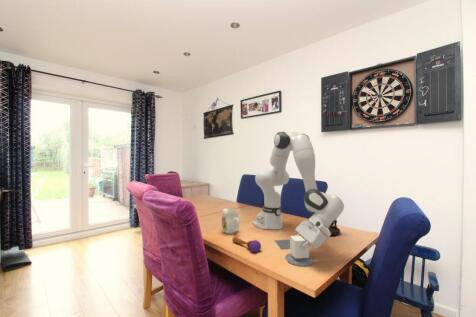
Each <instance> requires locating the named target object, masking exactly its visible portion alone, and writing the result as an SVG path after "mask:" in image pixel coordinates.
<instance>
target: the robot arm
mask: <svg viewBox="0 0 476 317" xmlns="http://www.w3.org/2000/svg"><path fill="white" fill-rule="evenodd" d="M273 144H274V146H273V149H272V150H271V151H272V152H271V153H270V154H271V156H270V157H269V158H270V159H269V163H270V165H271V167H273V168H272V169H270V170H261V171H258V172H257V173H256V174H255V178H254V181H255V184H256V185H257V187H258V186H259V187H260V189H261V190H262V193H263V199H264V200H263V201H264V202H263V203H264V205H262V206H261V209H262V211H260V212H258V213H257V214H256V217H255V220H253V221H252V225H255V226H256V227H258V228H260V229H262V230H280V229H282V228H284V226H283V219H282V206H281V204H282V203H281V201H282V200H281V194H280V193H279V192H277V191H276V190H275V187H280V186H284V185H287V184H288V183H289V180H290V175H289V173H288V171H287V169H286V166H287V162H288V160H289V156H290V153H291V151H292V156H293V159H294V163H295V165H296V167H297V169H298V171H299V174H300V175H301V178H302V181H303V185H304V189H305V193H304V195H303V201H304V208H305V210H306V211H307V212H308V213H310V214H312V215H311V216H310V217H309V219H306V220H305V219H304V220H303V221H302V222H300V224H298V226H296V228H295V230H294V231H295V232H296V233H297V234H296V236H302V237H304V238H305V239H306V240H307V241H306V243H305V244H304V245H301V246H300V248H301V249H302V250H303V251H304V250H305V249H306V248H308V247H309V248H310V247H311V246H312V247H314V248H315V249H318V248H320V247H321V246H322V245H323V244H324V242H325V241H327V238H329V237H331V235H332V234H331V233H330V231H329V229H328V228H329V227H330V225H331V223H332V222H333V221H335V220H336V219H338V218H339V217H340V216H341V214H342V212H343V211H344V209H345V204H344V202H343V200H342V199H341V198H340V197H338V196H337V195H335V194H330V193H325V192H322V191H320V190H319V189H318V186H317V182H316V155H315V154H316V153H315V150H314V147H313V144H312V141H311V139H310V137H309V135H307V134H304V133H300V132H295V131H294V132H292V131H277V133H276V134H275V136H274V139H273Z"/></svg>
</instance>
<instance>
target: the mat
mask: <svg viewBox="0 0 476 317" xmlns="http://www.w3.org/2000/svg"><path fill="white" fill-rule="evenodd" d="M274 242H275V243H276V245H277V246H278V247H279V249H280V250H290V239H277V240H276V239H274Z"/></svg>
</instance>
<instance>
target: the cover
mask: <svg viewBox="0 0 476 317" xmlns="http://www.w3.org/2000/svg"><path fill="white" fill-rule="evenodd" d="M289 240H290V249H289V254H290V253H291V254H292V255H293V256H294V258H309V256H310V247H308V248H306V249H305V250H304V251H303V250H302V249H301V248H300V246H301V245H304V244H305V243H306V241H307V240H306V239H305V238H304V237H302V236H297V235H290V237H289Z"/></svg>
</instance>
